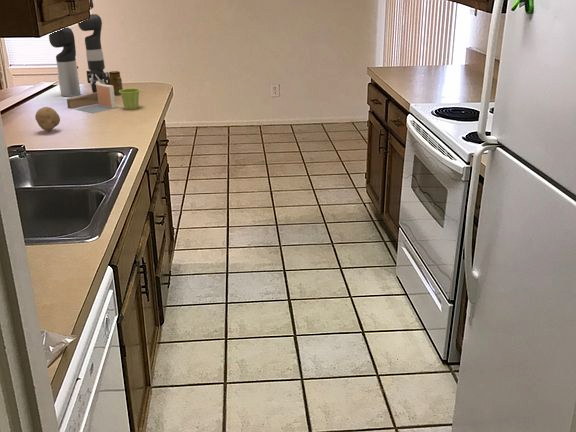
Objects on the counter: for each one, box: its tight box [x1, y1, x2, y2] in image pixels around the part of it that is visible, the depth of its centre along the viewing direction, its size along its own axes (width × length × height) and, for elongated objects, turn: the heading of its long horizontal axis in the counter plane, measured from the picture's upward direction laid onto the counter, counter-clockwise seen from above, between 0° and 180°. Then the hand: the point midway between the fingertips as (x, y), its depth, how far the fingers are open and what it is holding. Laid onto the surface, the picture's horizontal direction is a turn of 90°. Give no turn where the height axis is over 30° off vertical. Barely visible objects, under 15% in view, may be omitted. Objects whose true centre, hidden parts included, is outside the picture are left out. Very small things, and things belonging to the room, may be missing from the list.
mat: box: [74, 103, 120, 114], centre depth 284 cm, size 14×15×1 cm
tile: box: [96, 83, 117, 109], centre depth 285 cm, size 10×2×10 cm, turn 53°
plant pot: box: [119, 87, 141, 110], centre depth 283 cm, size 9×9×9 cm
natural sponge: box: [35, 106, 61, 133], centre depth 248 cm, size 9×9×10 cm
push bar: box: [66, 92, 99, 110], centre depth 293 cm, size 4×24×5 cm, turn 143°
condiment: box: [108, 70, 124, 97], centre depth 310 cm, size 7×8×12 cm
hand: (100, 93), depth 296 cm, fingers open, 8 cm apart
